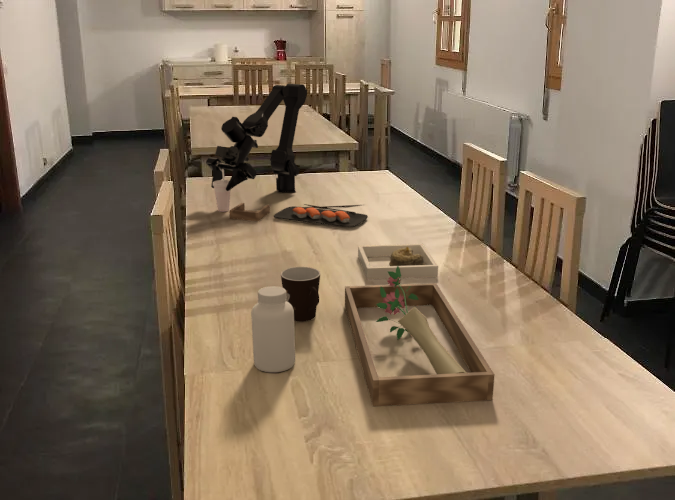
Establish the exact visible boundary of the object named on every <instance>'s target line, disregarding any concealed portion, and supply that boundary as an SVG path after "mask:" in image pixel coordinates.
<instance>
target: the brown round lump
mask: <svg viewBox="0 0 675 500" xmlns="http://www.w3.org/2000/svg"><path fill="white" fill-rule="evenodd" d="M414 265H426V263H425V262H424V260H423V256H422V255H418V254H416V255H413V250H412V249H409V248H408V247H406V248H404V249H402V248H401V249H399V250H395V251H393V252H392V254H391V256H389V263H388V266H414Z"/></svg>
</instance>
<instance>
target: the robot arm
mask: <svg viewBox="0 0 675 500" xmlns="http://www.w3.org/2000/svg"><path fill="white" fill-rule="evenodd" d="M307 95H308V88H307V87H306V86H305V84H301V83H287V84H286V85H285V84H283V85H282V84H275V85H273V86H272V87H271V91H270V92H269V94H268V95H267V97H266V98H265V99H264V100H263V102H262V104H261V105H260V106H259V107H258V109H257V110H256V111H255V112H254V113H252V114H250V115H248V116H247V117H246V118H245V119H244V120H243V122H241V121H240V119H239V118H238V117H237V116H232V117H231V118H230V119H228V120H226V121H225V122H224V123H222V126H221V127H220V128H221V132H222V133H224V135H225V136H226V137H227V138H228V140H230V142H232V143H234V144H233V145H230V146H229V147H226V146H223V145H222V146H220V145H217V146H216V150H215V153H214V156H217V157H220V158H221V160H222V161H221V160H220V158H217V157H208V158H207V159H206V161H205V165H206V166H208V167H209V169H210V170H211V171H212V179H211V184H210V185H211V188H212V189H214V186H213V182H214V181H217V180H223V175H222V169H224V172H225V171H231V172H232V175H231V177H230V179H229V183H228V185H227V187H226V190H227V191H229V190H232V189H234V188H235V187H236V186H238V185H240V184H241V183H243V182H245V181H247V180H255V179H256V177H257V170H256V169H255V168H254V167H253V166H252V164H251V163H250V162H249V163H248V161H249V157H248V156H249V154H250V153H251V152H252V149H253V148H254V149H259V146H258V140H257V139H254V138H253V137H255V138H261V137H263V136H264V135H265V133H266V131H267V129H268V127H269V124H268V123H269V120H270V119H271V117H272V115H273V114H274V113H275V111H276V110H277V108H278V107H279V105H280V104H281V103H282V102H283V104H284V106H285V110H284V115H283V120H282V124H281V125H282V127H281V132H280V138H279V142H278V146H277V147H276V149H272V150H271V152H270V153H271V155H270V159H269V161H270V166H271V170H272V173H273V174H274V175H277V177H276V178H275V183H276V184H275V185H276V187H275V189H276V191H277V193H296V192H297V191H296V177H297V176H299V174H300V171H301V169H300V167H299V166H298V165H297V164H296V163H295V162H296V161H295V159H296V156H295V153H294V150H293V145H294V140H295V134H296V130H297V129H296V128H297V123H298V117H299V112H300V109H301V108H302V107H303V106H304V104H305V102H306V100H307V97H308V96H307ZM224 177H226V174H225V173H224Z"/></svg>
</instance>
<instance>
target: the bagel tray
mask: <svg viewBox="0 0 675 500" xmlns="http://www.w3.org/2000/svg"><path fill="white" fill-rule="evenodd" d="M406 247H408V248H409V249H412V250H413V255H416V254H418V255H422V256H423V260H424V262H425V263H426V265H414V266H399V269H400V272H401V279H424V278H438V277H439V276H438V275H439V265H438V264H437V262H436V260H435V259H434V257H433V256H432V254H431V253H430V252H429V250H428V249H427V248H426V246H425V245H424V244H423V243H408V244H407V243H405V244H402V243H400V244H377V245H376V244H374V245H371V244H369V245H357V257H358V260H359V263H360V265H361V268H362V270H363V273H364V275H365V278H366V280H367V281H368V280H389V279H388V278H389V277H390V275H389V274H388V272H387V271H391V272H395V273H396V268H397V266H390V265H388V266H387V265H385V266H371V265H370V262H369V259H368V258H376V257H377V258H380V257H382V258H383V257H390V256H391V254H392V252H393V251H395V250H399V249H401V248H402V249H404V248H406Z"/></svg>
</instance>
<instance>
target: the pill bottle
mask: <svg viewBox="0 0 675 500" xmlns="http://www.w3.org/2000/svg"><path fill="white" fill-rule="evenodd" d="M286 298H287V296H286V290H285V289H284V288H283V287H282V286H275V285H272V286H264V287H262V288H259V290H258V291H257V302H256V303H255V304H254V305H253V307H252V308H251V312H250V316H251V318H250V319H251V333H252V335H251V336H252V353H253V356H252V357H253V364H254V367H255V368H256V369H257V370H259V371H260V372H261V371H262V372H264V373H280V372H284V371H287V370H290V369H291V368H293V367H294V365H295V362H296V344H295V343H296V338H295V335H296V334H295V321H294V310H293V307H292V305H291V304H290V303H289V302H287V301H286Z"/></svg>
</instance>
